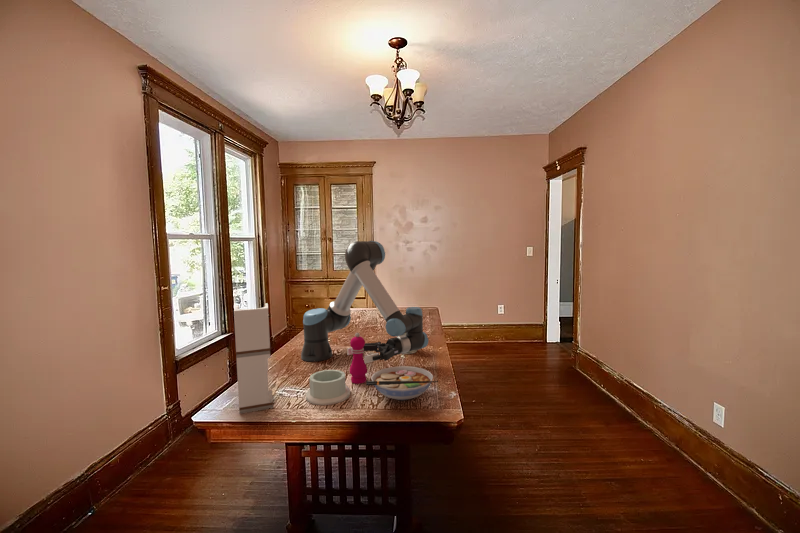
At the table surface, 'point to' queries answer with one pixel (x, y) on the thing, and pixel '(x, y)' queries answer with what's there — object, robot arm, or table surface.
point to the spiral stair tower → (252, 358)
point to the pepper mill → (358, 360)
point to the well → (327, 388)
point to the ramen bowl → (401, 382)
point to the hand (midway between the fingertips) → (355, 355)
